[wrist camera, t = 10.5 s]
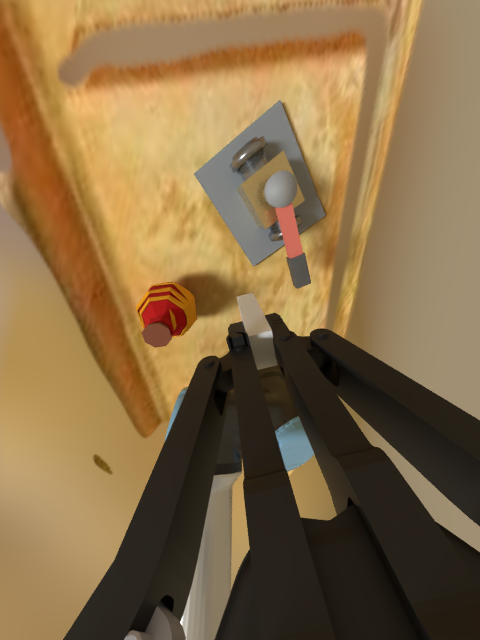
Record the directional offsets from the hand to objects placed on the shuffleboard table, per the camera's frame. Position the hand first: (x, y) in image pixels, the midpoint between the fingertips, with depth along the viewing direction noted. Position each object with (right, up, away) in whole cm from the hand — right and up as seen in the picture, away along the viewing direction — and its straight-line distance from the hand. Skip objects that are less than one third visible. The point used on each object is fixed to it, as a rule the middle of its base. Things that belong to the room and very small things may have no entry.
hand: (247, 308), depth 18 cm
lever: (+7, +12, +12) cm, 18 cm away
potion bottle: (-14, +4, +24) cm, 28 cm away
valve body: (+3, +21, +17) cm, 27 cm away
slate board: (+3, +21, +17) cm, 27 cm away
